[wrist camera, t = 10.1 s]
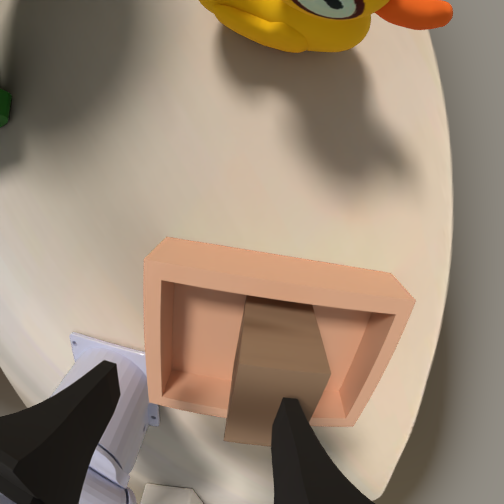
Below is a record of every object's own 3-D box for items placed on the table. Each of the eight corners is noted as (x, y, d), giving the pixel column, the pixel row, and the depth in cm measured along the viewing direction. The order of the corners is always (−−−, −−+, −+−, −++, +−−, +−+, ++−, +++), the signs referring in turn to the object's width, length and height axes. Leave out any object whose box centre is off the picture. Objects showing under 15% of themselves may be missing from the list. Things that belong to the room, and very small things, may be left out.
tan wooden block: (288, 370, 21) (295, 448, 14) (233, 362, 20) (223, 440, 14) (310, 299, 19) (331, 374, 12) (247, 289, 18) (239, 363, 12)
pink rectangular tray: (343, 391, 22) (353, 426, 19) (163, 367, 22) (149, 402, 18) (391, 273, 19) (415, 300, 15) (166, 236, 19) (143, 259, 15)
